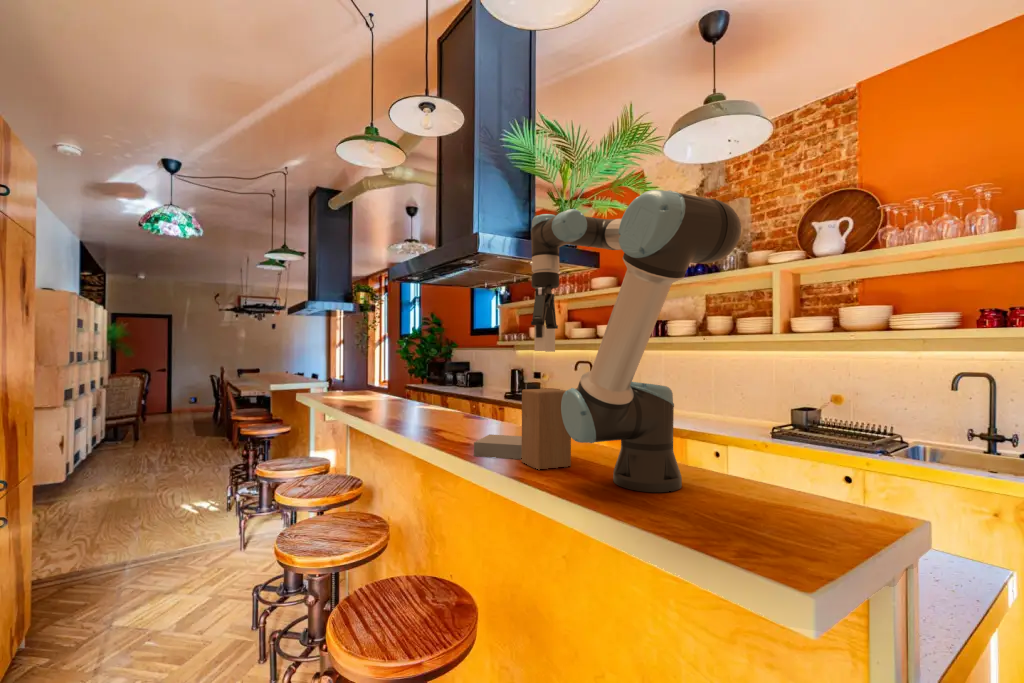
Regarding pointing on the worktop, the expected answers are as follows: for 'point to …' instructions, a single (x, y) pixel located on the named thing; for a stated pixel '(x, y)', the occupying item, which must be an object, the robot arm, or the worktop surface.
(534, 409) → the wooden block
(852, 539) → the worktop surface
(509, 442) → the grey flat square block
